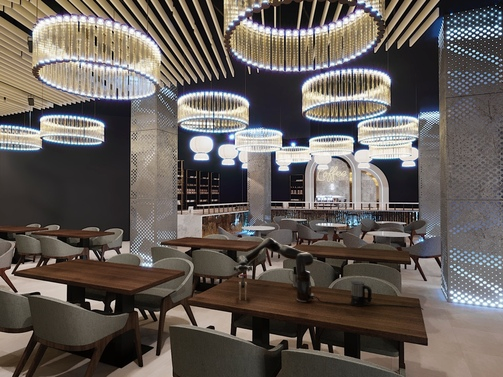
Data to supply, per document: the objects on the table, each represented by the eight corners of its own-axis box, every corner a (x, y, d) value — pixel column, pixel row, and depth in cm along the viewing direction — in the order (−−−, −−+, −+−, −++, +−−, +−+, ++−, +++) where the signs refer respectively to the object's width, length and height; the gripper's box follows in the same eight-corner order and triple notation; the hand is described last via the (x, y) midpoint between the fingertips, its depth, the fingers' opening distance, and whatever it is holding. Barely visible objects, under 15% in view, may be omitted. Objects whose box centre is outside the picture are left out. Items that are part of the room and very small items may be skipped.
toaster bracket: (237, 298, 235) (237, 280, 236) (248, 298, 236) (248, 280, 236) (236, 303, 225) (237, 284, 226) (248, 303, 226) (248, 284, 226)
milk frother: (350, 305, 223) (350, 283, 224) (351, 298, 238) (351, 277, 238) (372, 307, 218) (372, 285, 219) (372, 300, 233) (372, 279, 234)
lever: (239, 276, 241) (239, 273, 240) (246, 276, 241) (246, 273, 240) (239, 287, 230) (239, 285, 229) (246, 287, 230) (246, 285, 229)
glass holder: (305, 286, 269) (305, 267, 270) (292, 288, 261) (292, 269, 262) (298, 283, 277) (298, 265, 277) (285, 286, 269) (285, 267, 269)
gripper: (234, 260, 266) (233, 265, 250) (251, 261, 267) (252, 265, 250) (234, 270, 266) (233, 275, 250) (251, 270, 267) (252, 275, 250)
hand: (243, 270), depth 250 cm, fingers open, 8 cm apart
